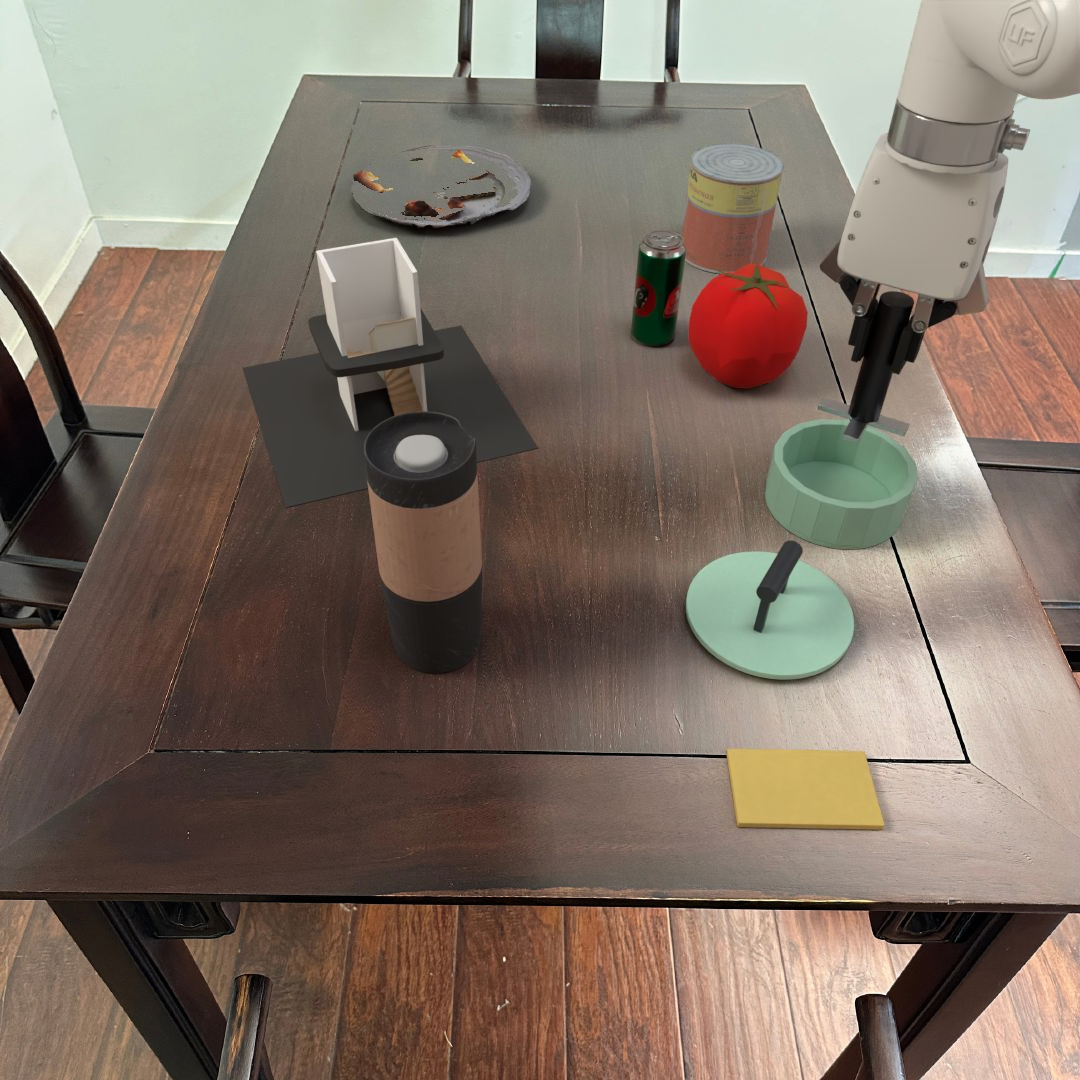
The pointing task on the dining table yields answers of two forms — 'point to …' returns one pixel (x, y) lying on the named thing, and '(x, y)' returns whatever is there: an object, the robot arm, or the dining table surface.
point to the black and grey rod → (875, 371)
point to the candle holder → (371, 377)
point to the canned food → (730, 206)
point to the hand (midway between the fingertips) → (879, 358)
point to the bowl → (839, 484)
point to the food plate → (474, 203)
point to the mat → (803, 789)
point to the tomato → (747, 326)
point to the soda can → (658, 287)
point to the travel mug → (427, 537)
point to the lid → (770, 614)
